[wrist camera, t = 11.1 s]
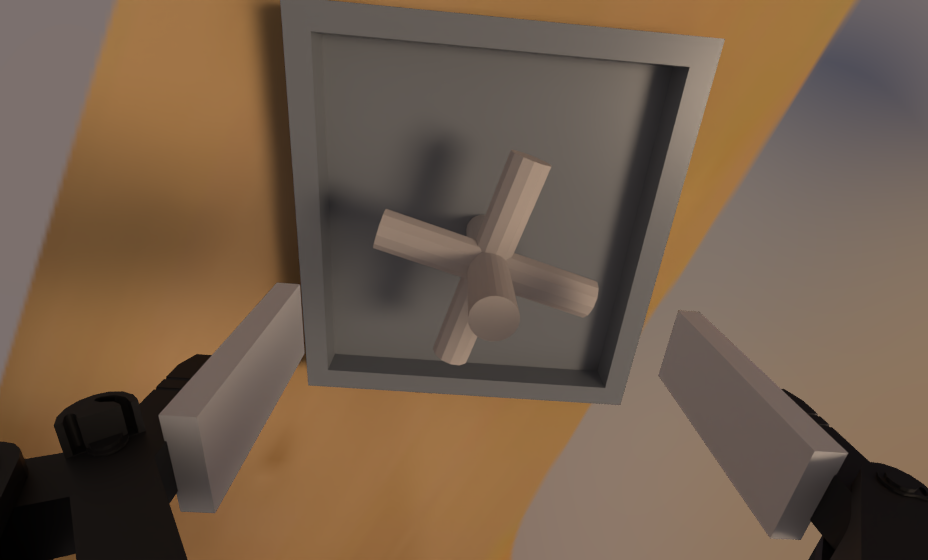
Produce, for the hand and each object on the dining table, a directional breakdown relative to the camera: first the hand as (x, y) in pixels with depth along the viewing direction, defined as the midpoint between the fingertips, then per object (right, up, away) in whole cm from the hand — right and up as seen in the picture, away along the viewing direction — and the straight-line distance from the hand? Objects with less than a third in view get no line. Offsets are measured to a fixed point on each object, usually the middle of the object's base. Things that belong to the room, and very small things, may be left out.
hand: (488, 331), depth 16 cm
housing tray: (0, +5, +10) cm, 11 cm away
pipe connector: (0, +5, +9) cm, 10 cm away
